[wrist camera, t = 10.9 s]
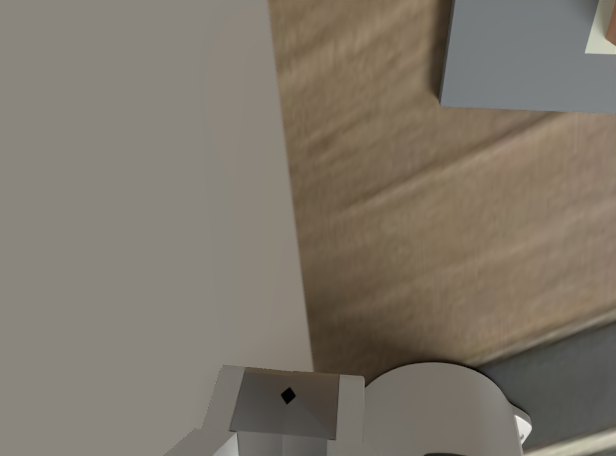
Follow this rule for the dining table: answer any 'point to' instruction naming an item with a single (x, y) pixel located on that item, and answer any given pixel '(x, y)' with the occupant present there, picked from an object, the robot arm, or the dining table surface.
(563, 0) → the board
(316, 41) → the dining table surface
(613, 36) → the t block
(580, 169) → the dining table surface
